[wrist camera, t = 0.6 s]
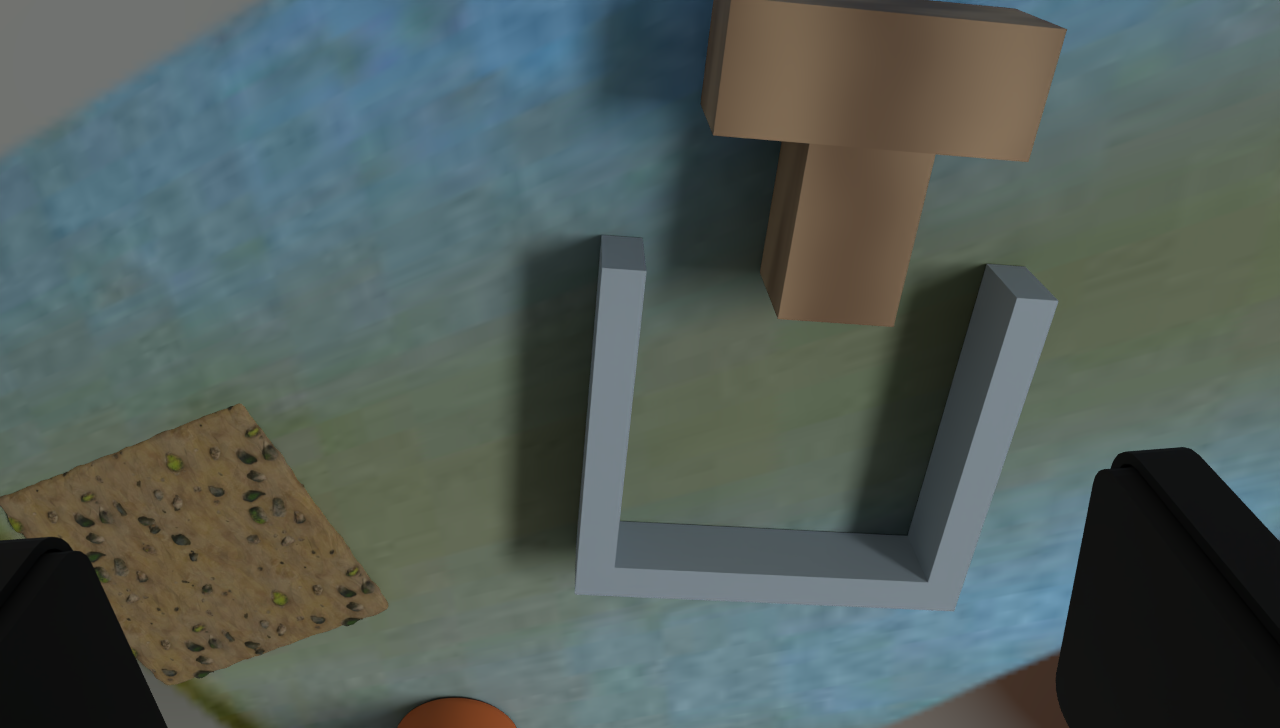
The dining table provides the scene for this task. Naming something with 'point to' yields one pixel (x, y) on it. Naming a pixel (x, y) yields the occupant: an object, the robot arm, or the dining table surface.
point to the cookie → (203, 545)
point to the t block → (867, 128)
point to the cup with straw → (456, 715)
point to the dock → (796, 559)
